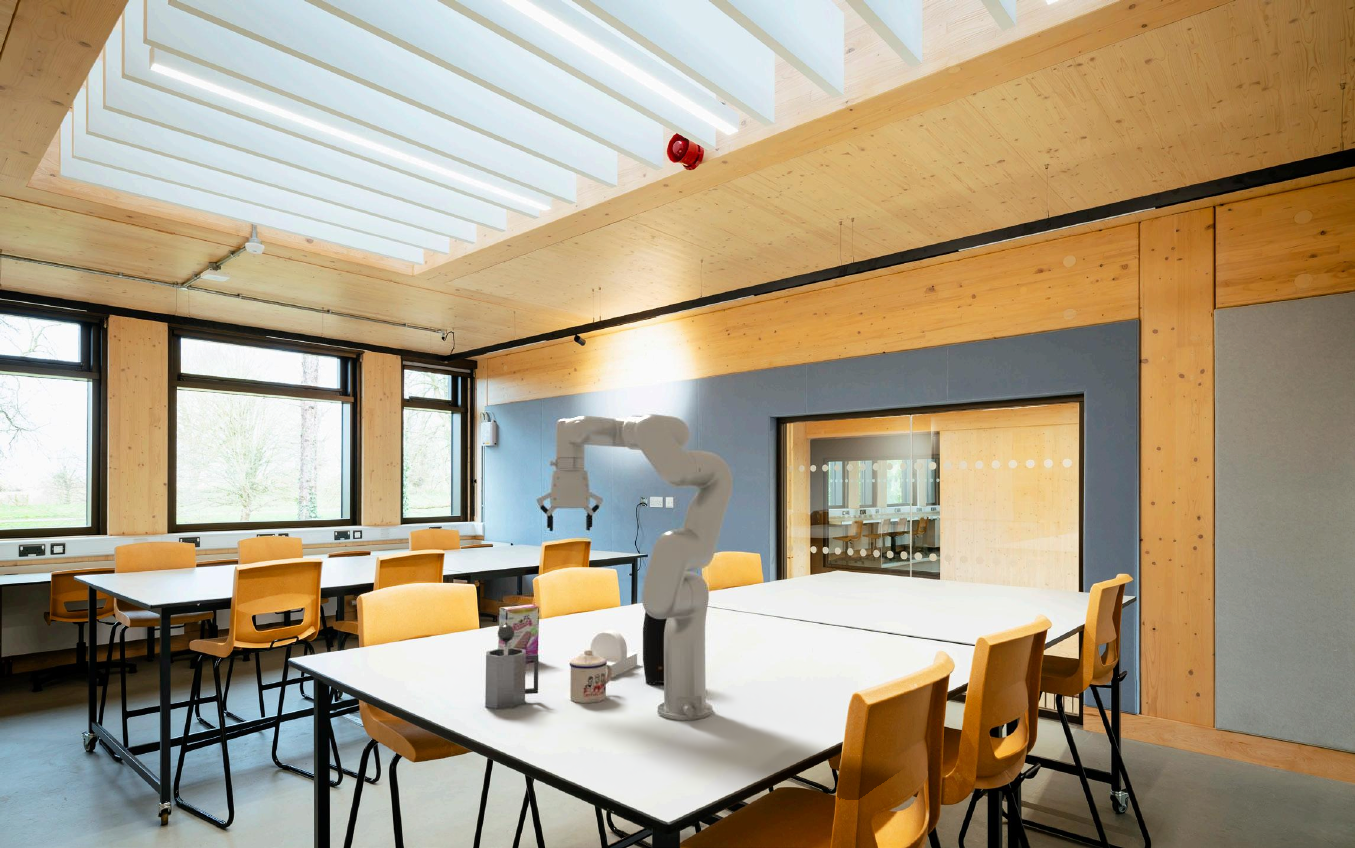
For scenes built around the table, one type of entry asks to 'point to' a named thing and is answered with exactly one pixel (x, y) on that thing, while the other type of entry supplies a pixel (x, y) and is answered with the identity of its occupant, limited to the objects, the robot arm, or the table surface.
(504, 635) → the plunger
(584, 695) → the teacup with lid
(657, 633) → the portable speaker
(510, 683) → the grey faceted mug
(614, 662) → the white arched block
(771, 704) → the table surface
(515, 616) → the candy bar box
